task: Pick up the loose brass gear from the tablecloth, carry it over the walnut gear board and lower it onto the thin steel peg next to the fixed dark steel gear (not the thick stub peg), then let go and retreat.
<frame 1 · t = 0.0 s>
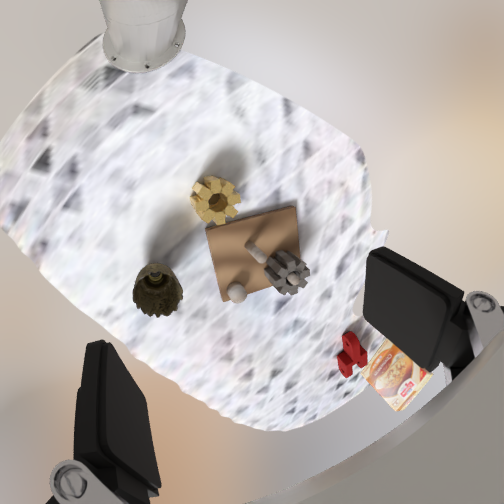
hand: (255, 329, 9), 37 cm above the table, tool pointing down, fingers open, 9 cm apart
gear board: (256, 253, 51), on the table
brass gear: (210, 196, 44), on the table
coffeecake box: (377, 356, 82), on the table
cup: (155, 272, 46), on the table
mechanical linkage: (346, 347, 73), on the table
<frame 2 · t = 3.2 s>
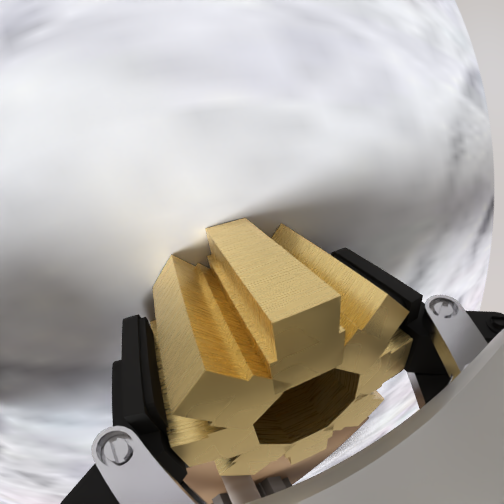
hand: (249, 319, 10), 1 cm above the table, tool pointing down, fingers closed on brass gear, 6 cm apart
gear board: (226, 466, 15), on the table
brass gear: (242, 307, 10), on the table, touching gripper
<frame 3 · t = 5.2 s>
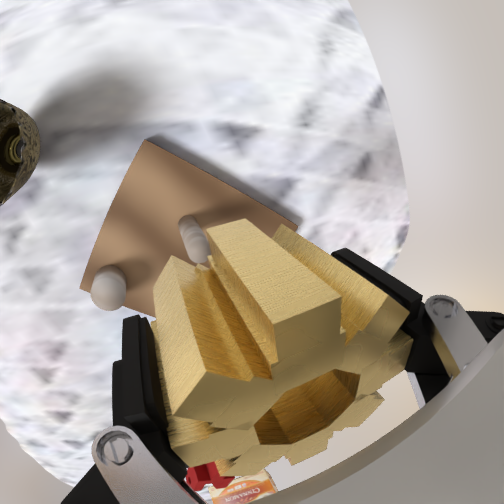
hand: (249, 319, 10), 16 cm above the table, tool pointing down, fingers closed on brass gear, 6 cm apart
gear board: (187, 251, 25), on the table
brass gear: (242, 308, 10), point 16 cm above the table, touching gripper
coffeecake box: (238, 480, 51), on the table
cup: (24, 148, 16), on the table
mechanical linkage: (209, 458, 42), on the table
when the fingers open (5 cm above the table, at t = 7.4 s): brass gear drops 3 cm, resting on gear board.
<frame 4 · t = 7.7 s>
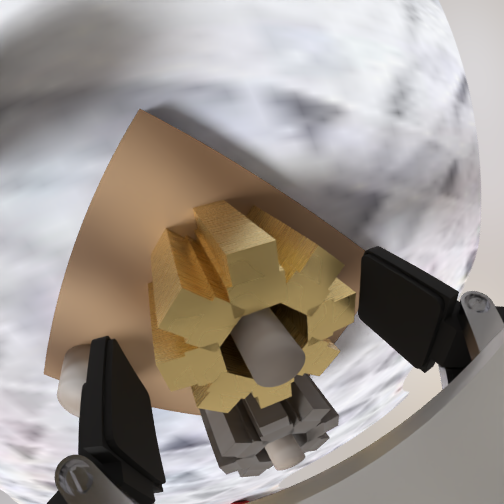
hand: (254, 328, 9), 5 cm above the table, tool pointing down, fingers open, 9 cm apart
gear board: (217, 314, 15), on the table
brass gear: (223, 274, 13), point 1 cm above the table, touching gear board
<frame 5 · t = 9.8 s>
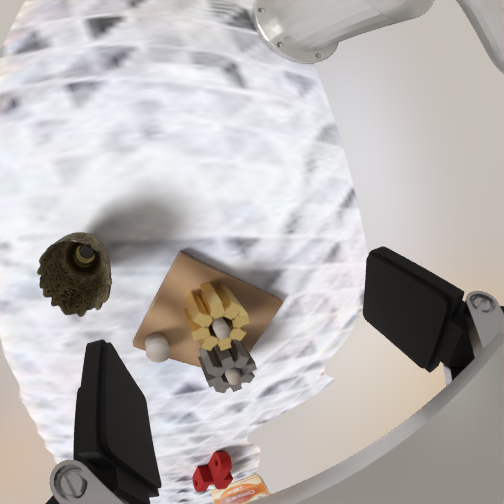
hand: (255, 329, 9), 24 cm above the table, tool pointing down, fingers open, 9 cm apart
gear board: (207, 320, 37), on the table
brass gear: (209, 305, 35), point 1 cm above the table, touching gear board
coffeecake box: (236, 485, 59), on the table
cup: (86, 250, 28), on the table
mechanical linkage: (211, 463, 51), on the table
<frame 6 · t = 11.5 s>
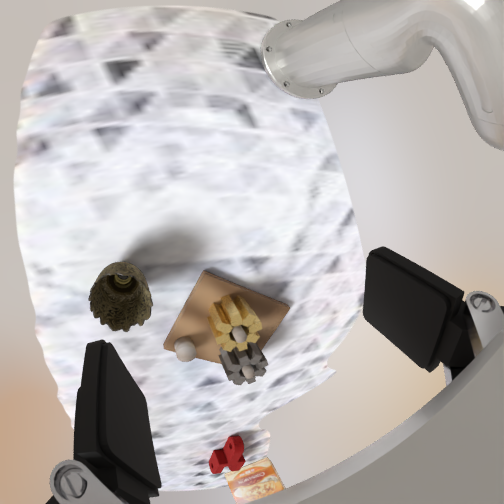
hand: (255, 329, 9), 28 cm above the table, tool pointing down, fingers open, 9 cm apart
gear board: (226, 325, 44), on the table
brass gear: (228, 313, 42), point 1 cm above the table, touching gear board
coffeecake box: (248, 468, 69), on the table
cup: (123, 273, 35), on the table
mechanical linkage: (226, 447, 60), on the table
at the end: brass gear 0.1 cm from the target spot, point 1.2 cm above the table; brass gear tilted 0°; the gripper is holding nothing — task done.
